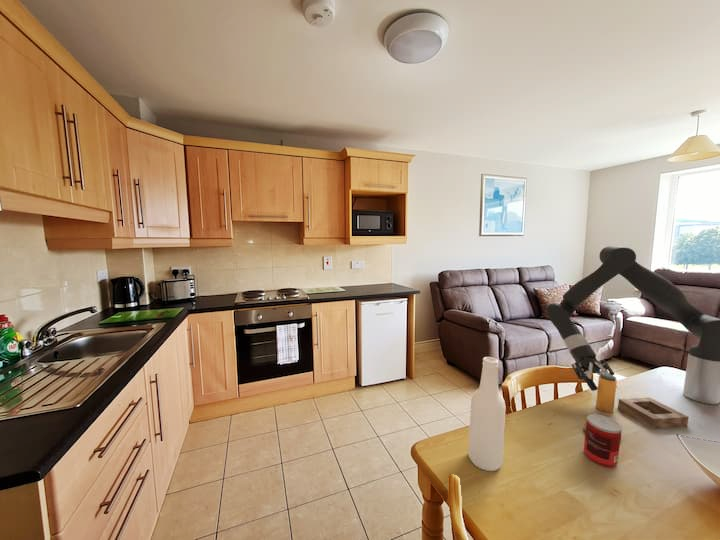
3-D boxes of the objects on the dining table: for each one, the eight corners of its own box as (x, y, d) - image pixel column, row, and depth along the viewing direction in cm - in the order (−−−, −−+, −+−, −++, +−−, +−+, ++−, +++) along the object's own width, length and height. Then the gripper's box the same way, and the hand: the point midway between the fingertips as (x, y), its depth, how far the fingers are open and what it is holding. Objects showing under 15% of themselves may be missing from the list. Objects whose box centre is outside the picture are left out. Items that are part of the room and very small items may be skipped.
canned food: (609, 451, 86) (613, 416, 85) (623, 471, 79) (628, 433, 78) (578, 445, 89) (582, 411, 88) (589, 464, 81) (593, 427, 80)
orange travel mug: (604, 404, 111) (607, 372, 109) (617, 412, 106) (620, 379, 104) (592, 405, 110) (595, 373, 109) (604, 413, 105) (608, 379, 104)
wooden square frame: (648, 406, 110) (649, 397, 110) (687, 426, 98) (688, 416, 98) (617, 407, 109) (618, 399, 108) (652, 428, 97) (654, 419, 96)
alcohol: (489, 477, 77) (495, 369, 73) (461, 456, 84) (466, 357, 81) (508, 464, 81) (515, 361, 78) (480, 445, 89) (486, 350, 85)
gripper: (570, 345, 114) (596, 387, 104) (600, 342, 116) (628, 384, 106) (558, 352, 119) (581, 393, 109) (587, 350, 122) (612, 390, 112)
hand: (604, 389), depth 108 cm, fingers open, 8 cm apart
